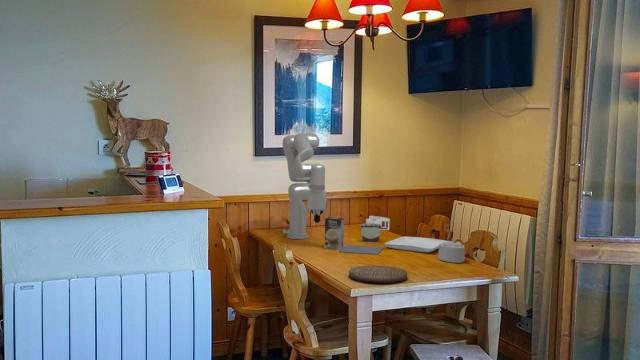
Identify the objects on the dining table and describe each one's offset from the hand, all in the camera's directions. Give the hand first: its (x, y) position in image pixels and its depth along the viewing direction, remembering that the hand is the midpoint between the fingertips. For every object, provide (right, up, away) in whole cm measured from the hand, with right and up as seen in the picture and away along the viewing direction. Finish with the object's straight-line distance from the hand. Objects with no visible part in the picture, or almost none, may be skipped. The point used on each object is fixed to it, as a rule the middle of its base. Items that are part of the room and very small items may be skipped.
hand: (317, 222), depth 328 cm
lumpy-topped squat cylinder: (+66, -17, -27) cm, 73 cm away
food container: (+30, -12, +21) cm, 39 cm away
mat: (+23, -14, -5) cm, 28 cm away
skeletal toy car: (+38, -9, +70) cm, 81 cm away
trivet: (+26, -19, -62) cm, 70 cm away
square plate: (+54, -14, +5) cm, 56 cm away
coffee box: (+9, -14, -1) cm, 16 cm away
